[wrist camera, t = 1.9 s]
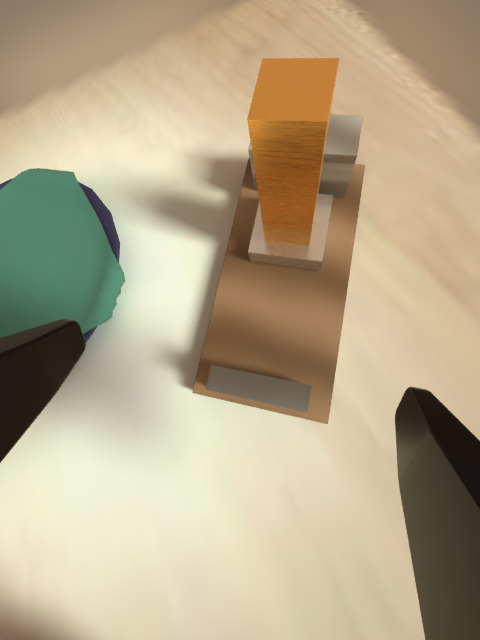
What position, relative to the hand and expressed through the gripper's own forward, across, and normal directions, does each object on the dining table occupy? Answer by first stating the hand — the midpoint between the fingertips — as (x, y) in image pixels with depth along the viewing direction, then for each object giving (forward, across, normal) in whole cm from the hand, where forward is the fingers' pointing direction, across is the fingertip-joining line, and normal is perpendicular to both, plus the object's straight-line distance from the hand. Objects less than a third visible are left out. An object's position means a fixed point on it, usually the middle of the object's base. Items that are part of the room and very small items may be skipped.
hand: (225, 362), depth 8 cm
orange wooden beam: (+18, 0, -1) cm, 18 cm away
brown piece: (+15, 0, +4) cm, 16 cm away
